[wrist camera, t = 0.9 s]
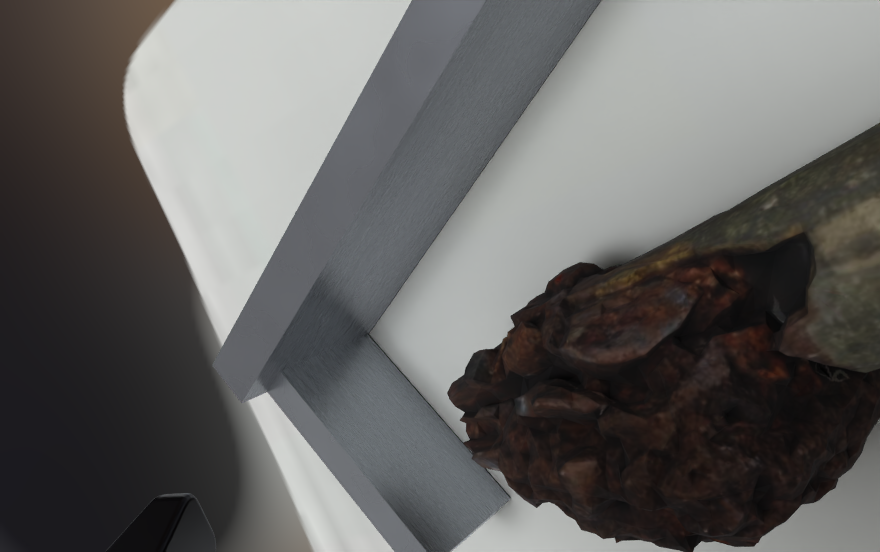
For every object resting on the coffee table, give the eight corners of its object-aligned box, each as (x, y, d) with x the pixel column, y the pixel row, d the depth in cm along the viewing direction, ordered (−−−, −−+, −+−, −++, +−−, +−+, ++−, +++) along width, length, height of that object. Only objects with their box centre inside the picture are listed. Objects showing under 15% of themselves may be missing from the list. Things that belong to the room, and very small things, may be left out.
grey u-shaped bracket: (1342, -311, 12) (1516, -505, 8) (493, 515, 25) (395, 600, 21) (882, -538, 14) (835, -774, 10) (327, 321, 27) (212, 365, 23)
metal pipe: (1280, -112, 13) (1440, -208, 8) (1521, 250, 12) (1837, 361, 8) (492, 313, 23) (373, 373, 19) (602, 518, 23) (506, 632, 18)
